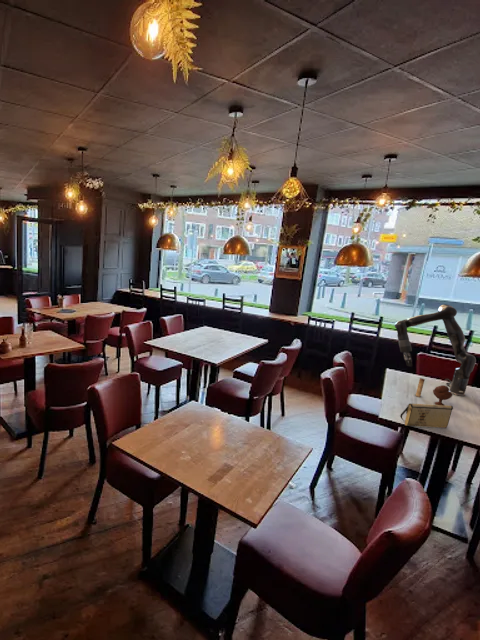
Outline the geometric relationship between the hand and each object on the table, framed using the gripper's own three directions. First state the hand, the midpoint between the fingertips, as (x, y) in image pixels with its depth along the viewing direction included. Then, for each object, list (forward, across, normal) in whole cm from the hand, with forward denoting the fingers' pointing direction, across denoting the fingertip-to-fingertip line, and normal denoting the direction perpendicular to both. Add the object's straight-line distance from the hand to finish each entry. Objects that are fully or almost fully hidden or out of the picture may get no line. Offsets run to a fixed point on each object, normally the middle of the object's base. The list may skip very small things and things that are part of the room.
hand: (409, 366), depth 268 cm
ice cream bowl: (+28, -16, -10) cm, 34 cm away
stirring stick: (+22, -7, 0) cm, 23 cm away
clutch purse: (+31, -62, +11) cm, 70 cm away
